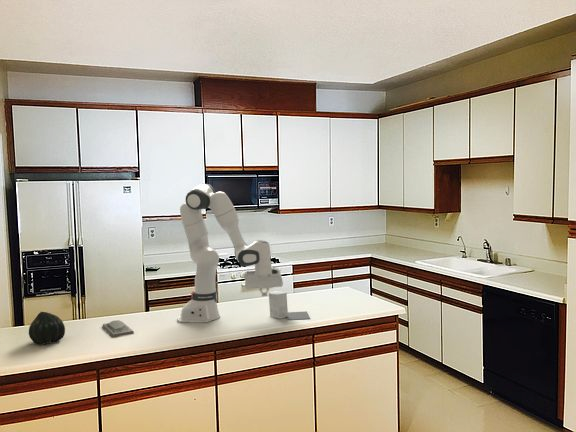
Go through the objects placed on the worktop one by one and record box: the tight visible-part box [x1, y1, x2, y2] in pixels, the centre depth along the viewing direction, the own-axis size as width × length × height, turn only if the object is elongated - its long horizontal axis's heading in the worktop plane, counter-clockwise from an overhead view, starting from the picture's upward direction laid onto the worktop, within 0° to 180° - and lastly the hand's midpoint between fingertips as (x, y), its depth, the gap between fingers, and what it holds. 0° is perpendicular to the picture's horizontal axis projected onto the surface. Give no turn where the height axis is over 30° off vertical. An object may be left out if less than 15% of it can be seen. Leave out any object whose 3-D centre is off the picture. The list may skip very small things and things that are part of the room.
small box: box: [268, 290, 289, 320], centre depth 249 cm, size 8×6×13 cm
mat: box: [286, 311, 311, 321], centre depth 251 cm, size 12×13×1 cm
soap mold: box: [102, 319, 134, 338], centre depth 233 cm, size 10×20×4 cm, turn 35°
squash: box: [28, 311, 66, 346], centre depth 218 cm, size 14×15×15 cm
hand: (264, 295), depth 248 cm, fingers closed
